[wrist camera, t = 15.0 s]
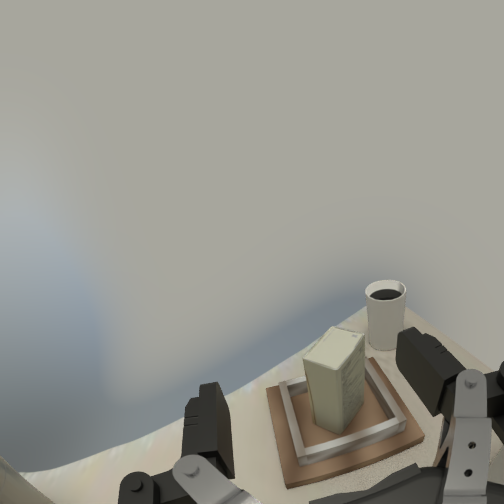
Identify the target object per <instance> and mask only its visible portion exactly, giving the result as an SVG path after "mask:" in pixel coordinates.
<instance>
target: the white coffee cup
mask: <svg viewBox="0 0 504 504" xmlns="http://www.w3.org/2000/svg"><path fill="white" fill-rule="evenodd" d="M405 300H406V287H405V286H404V285H403V284H402V283H400V282H398V281H394V280H381V281H377V282H374V283H372V284H370V285H369V286H368V287H367V288H366V303H367V313H368V326H369V340H370V344H371V346H372V347H373V348H375V349H376V350H381V351H389V350H392V349H395V348H396V347H397V335H398V333H399V332H401V331H403V323H404V312H405Z"/></svg>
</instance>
